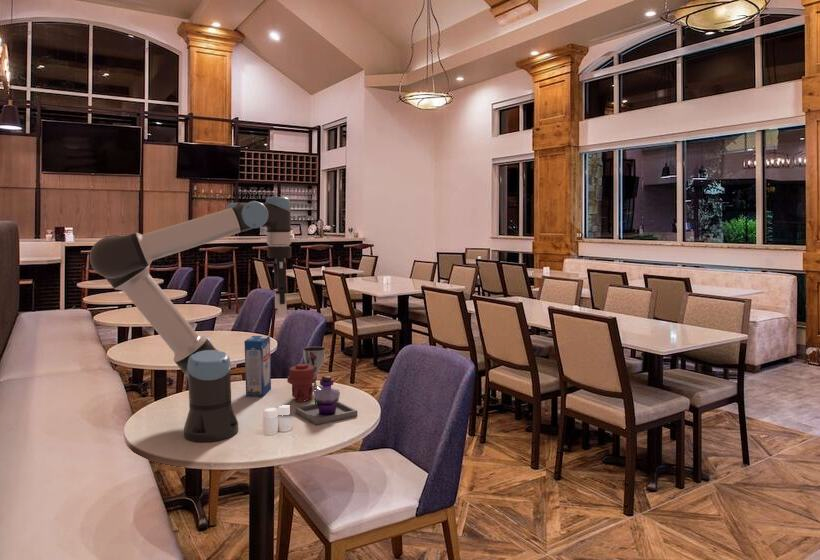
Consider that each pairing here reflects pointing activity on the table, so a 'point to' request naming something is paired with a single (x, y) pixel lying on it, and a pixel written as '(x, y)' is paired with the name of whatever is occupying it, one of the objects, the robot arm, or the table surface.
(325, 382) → the potion bottle
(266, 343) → the milk carton
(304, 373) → the mechanical component
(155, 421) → the table surface
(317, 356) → the wine glass
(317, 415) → the charcoal tray
